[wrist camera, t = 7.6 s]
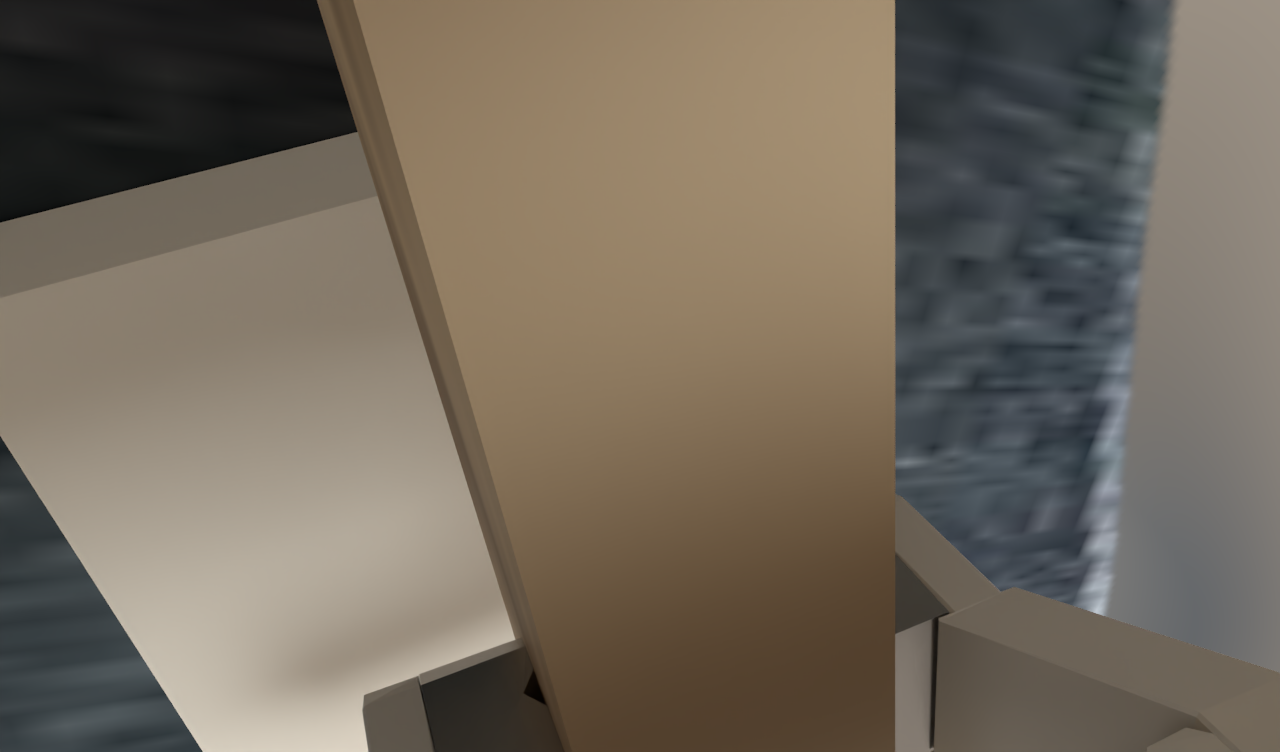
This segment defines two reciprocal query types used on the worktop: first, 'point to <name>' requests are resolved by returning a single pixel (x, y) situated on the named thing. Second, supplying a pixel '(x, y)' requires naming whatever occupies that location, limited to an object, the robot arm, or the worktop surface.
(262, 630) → the board
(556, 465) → the scraper
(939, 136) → the worktop surface
